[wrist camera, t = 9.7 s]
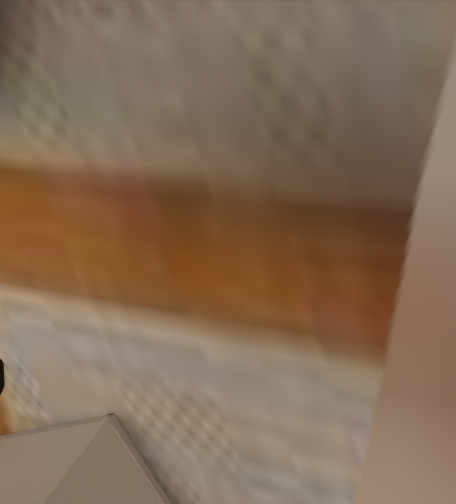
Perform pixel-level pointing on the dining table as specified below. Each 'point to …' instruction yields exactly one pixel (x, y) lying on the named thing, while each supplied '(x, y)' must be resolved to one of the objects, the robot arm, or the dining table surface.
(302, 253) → the dining table surface
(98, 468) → the white square box
